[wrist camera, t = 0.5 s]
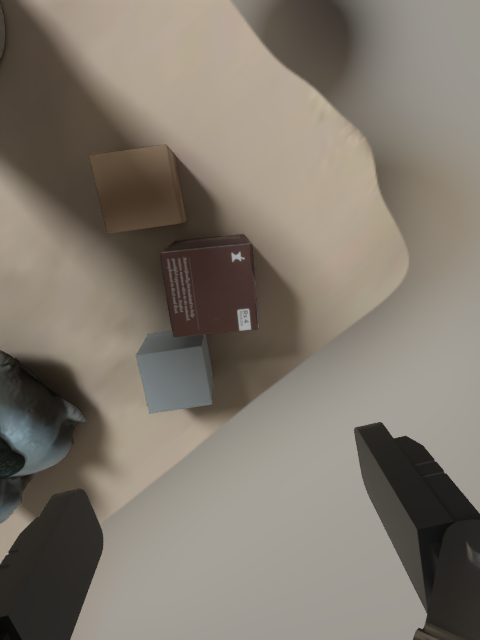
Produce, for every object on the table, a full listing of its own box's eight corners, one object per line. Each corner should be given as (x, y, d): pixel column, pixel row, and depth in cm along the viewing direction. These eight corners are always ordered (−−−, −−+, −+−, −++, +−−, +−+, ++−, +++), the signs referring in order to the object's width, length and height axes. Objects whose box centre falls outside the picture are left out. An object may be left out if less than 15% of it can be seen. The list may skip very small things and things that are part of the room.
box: (172, 239, 31) (158, 249, 24) (246, 233, 31) (253, 240, 24) (182, 311, 33) (171, 339, 26) (251, 304, 33) (259, 331, 26)
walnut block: (110, 163, 29) (89, 155, 24) (175, 154, 29) (165, 144, 24) (125, 229, 30) (107, 233, 26) (186, 221, 30) (179, 223, 26)
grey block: (148, 334, 33) (135, 355, 28) (204, 325, 33) (201, 346, 28) (159, 385, 35) (149, 413, 30) (213, 377, 35) (212, 404, 30)
